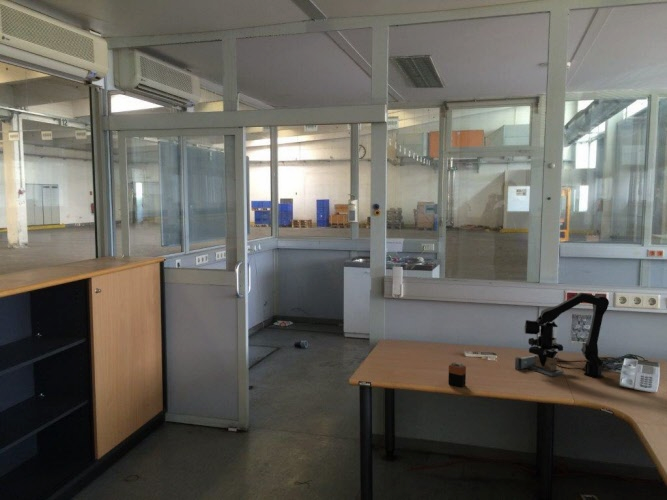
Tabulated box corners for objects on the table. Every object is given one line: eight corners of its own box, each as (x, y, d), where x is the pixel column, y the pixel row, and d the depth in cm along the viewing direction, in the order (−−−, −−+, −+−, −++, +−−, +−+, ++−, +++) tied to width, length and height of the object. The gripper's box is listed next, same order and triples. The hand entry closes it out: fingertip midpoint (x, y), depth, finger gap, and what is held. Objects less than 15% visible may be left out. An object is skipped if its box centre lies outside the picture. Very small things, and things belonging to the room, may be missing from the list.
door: (539, 363, 265) (539, 354, 265) (543, 364, 263) (544, 355, 262) (518, 367, 257) (519, 358, 257) (522, 369, 255) (523, 359, 255)
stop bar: (556, 369, 249) (556, 359, 249) (551, 370, 248) (551, 360, 247) (539, 364, 258) (539, 354, 258) (534, 365, 256) (534, 355, 256)
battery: (452, 382, 236) (452, 361, 236) (465, 385, 232) (466, 364, 231) (447, 384, 233) (448, 363, 232) (461, 387, 229) (462, 366, 228)
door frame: (542, 363, 266) (542, 352, 266) (545, 364, 265) (545, 353, 264) (515, 369, 257) (515, 357, 256) (518, 370, 255) (518, 358, 254)
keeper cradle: (563, 374, 249) (563, 371, 248) (552, 376, 245) (552, 373, 245) (538, 366, 261) (538, 363, 261) (527, 368, 257) (528, 365, 257)
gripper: (545, 329, 263) (544, 358, 264) (520, 333, 254) (519, 363, 255) (564, 334, 253) (563, 364, 254) (539, 338, 244) (537, 370, 246)
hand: (545, 365), depth 253 cm, fingers closed on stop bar, 3 cm apart
